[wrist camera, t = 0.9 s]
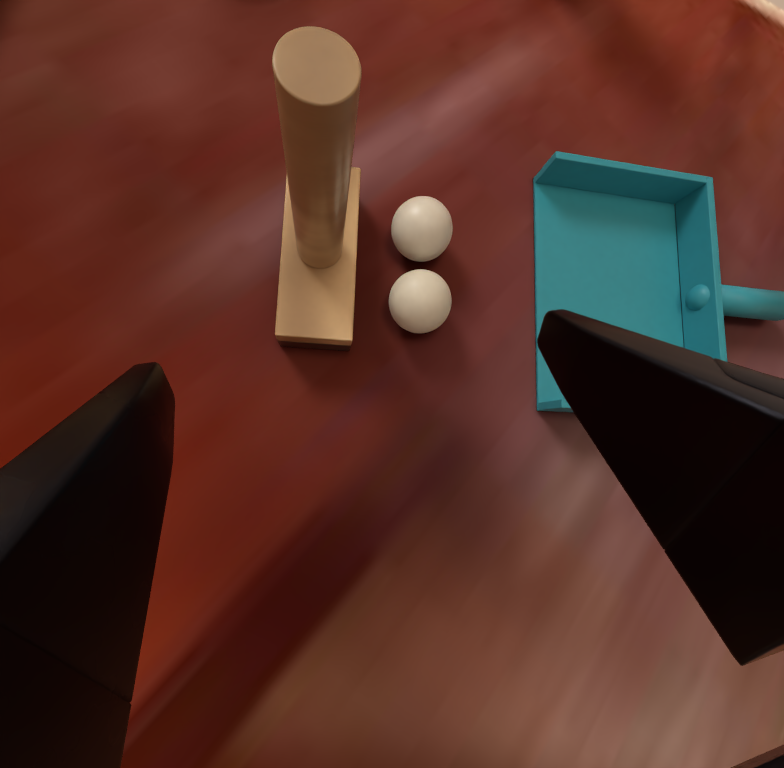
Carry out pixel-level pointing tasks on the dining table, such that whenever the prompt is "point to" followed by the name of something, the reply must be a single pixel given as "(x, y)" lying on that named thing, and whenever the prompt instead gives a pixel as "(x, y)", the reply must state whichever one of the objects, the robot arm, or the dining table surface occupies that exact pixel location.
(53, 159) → the dining table surface
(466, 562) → the dining table surface
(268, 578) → the dining table surface
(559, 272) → the dustpan
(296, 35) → the brush
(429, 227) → the cream oval piece
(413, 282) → the beige rounded piece
